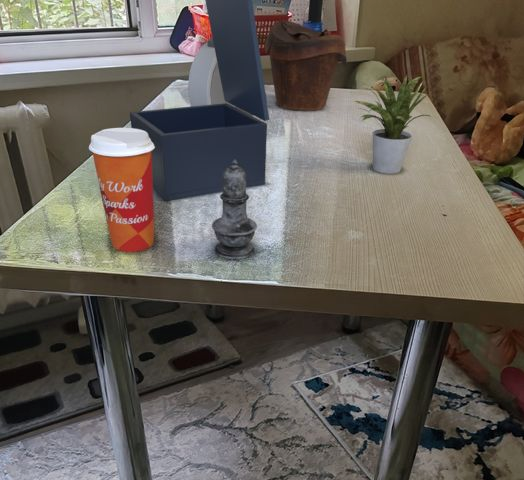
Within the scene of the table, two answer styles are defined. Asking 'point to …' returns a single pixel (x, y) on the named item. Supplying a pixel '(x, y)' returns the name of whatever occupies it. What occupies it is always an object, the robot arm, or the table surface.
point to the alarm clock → (206, 78)
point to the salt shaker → (234, 217)
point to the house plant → (392, 125)
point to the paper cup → (126, 185)
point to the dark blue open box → (202, 147)
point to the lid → (238, 55)
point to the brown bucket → (303, 64)
